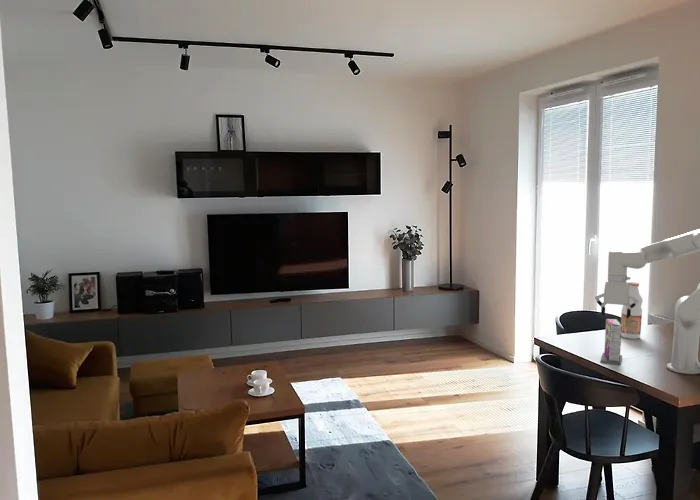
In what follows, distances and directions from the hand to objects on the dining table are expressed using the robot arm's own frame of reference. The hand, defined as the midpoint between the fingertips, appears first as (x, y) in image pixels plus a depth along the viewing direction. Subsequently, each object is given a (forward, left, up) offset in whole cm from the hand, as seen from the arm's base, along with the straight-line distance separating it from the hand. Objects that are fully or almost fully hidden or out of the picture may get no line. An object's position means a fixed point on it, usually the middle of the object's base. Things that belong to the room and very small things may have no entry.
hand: (615, 316), depth 257 cm
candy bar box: (+1, 0, -19) cm, 19 cm away
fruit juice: (-5, -48, -20) cm, 52 cm away
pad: (+1, 0, -20) cm, 20 cm away
